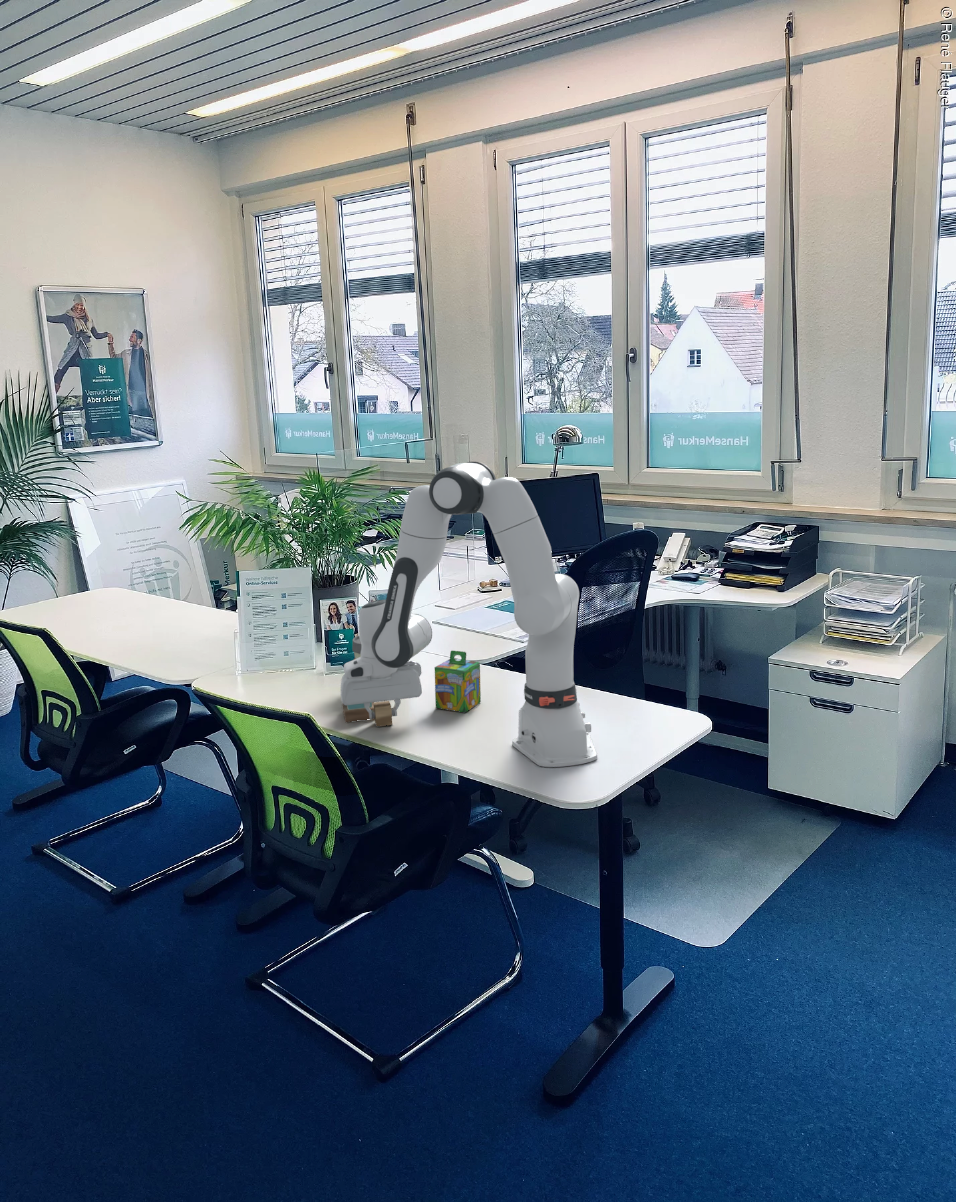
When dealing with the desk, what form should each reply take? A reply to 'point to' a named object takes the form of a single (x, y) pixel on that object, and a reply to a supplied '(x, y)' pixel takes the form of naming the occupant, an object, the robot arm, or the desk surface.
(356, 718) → the walnut slab
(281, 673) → the desk surface
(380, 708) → the oak block
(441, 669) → the chalk box
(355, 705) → the teal block
